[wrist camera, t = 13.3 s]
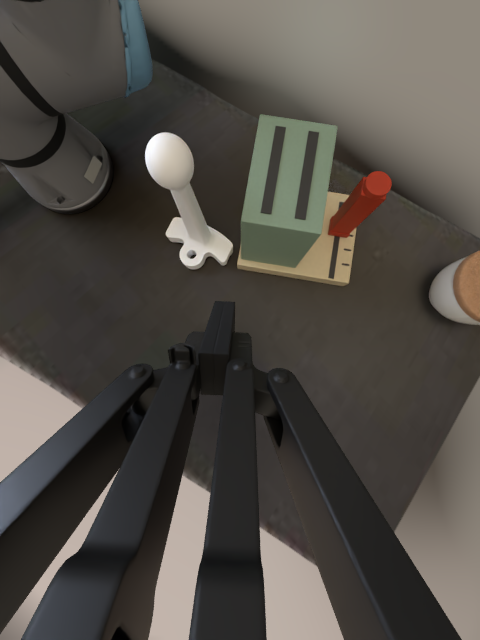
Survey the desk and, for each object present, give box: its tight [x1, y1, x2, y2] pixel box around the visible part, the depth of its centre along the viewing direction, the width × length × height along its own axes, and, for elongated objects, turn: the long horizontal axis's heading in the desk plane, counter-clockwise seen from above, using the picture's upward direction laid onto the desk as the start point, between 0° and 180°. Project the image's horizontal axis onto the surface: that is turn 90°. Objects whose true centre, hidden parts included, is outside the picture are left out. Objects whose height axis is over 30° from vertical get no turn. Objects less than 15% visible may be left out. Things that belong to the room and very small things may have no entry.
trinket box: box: [429, 251, 480, 325], centre depth 33 cm, size 11×11×9 cm
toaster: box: [237, 114, 357, 286], centre depth 32 cm, size 16×18×14 cm
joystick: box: [145, 133, 233, 269], centre depth 29 cm, size 11×8×20 cm
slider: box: [328, 171, 392, 238], centre depth 31 cm, size 3×3×11 cm
